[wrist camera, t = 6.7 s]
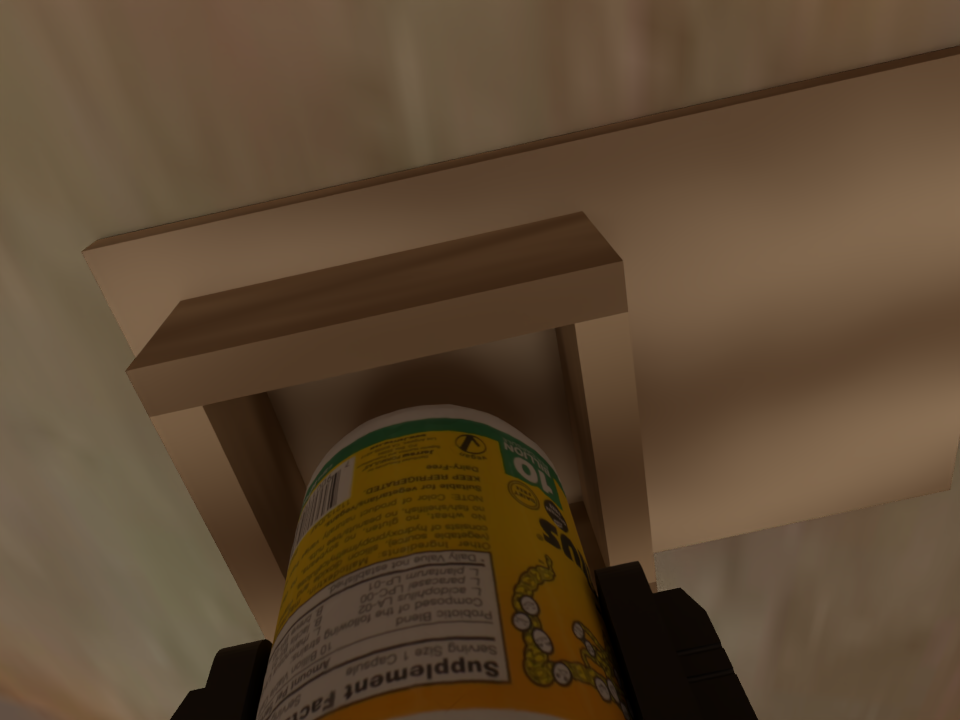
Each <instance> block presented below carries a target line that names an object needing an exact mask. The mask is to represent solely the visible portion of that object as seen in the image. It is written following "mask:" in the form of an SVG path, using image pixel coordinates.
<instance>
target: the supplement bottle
mask: <svg viewBox="0 0 960 720" xmlns="http://www.w3.org/2000/svg"><path fill="white" fill-rule="evenodd" d="M256 720H636V719H635V715H634V711H633V708H632V705H631V702H630V699H629V696H628V693H627V690H626V687H625V684H624V681H623V677H622V674H621V670H620V667H619V664H618V661H617V659H616V656H615V652H614V648H613V645H612V642H611V639H610V636H609V633H608V630H607V627H606V623H605V620H604V616H603V613H602V610H601V607H600V603H599V598H598V596H597V593H596V591H595V589H594V586H593V583H592V578H591V574H590V570H589V567H588V564H587V561H586V558H585V555H584V551H583V548H582V545H581V542H580V539H579V536H578V533H577V530H576V527H575V524H574V520H573V517H572V514H571V511H570V508H569V504H568V501H567V498H566V495H565V492H564V490H563V486H562V483H561V481H560V478H559V476H558V474H557V472H556V469H555V467H554V465H553V464H552V462H551V461H550V460H549V458H548V457H547V455H546V454H545V452H544V451H543V450H542V449H541V448H540V447H539V446H538V445H537V444H536V443H534V442H533V441H532V440H530V439H529V438H528V437H527V436H525V435H524V434H523V433H521V432H520V431H519V430H517V429H516V428H514V427H513V426H511V425H510V424H508V423H507V422H505V421H503V420H501V419H500V418H498V417H496V416H494V415H491V414H489V413H486V412H483V411H479V410H475V409H471V408H466V407H461V406H456V405H452V404H439V405H421V406H415V407H409V408H405V409H400V410H396V411H394V412H391V413H387V414H384V415H381V416H378V417H376V418H373V419H371V420H368V421H367V422H365V423H363V424H361V425H360V426H358V427H357V428H355V429H354V430H353V431H351V432H350V433H348V434H347V435H346V436H344V437H343V438H342V439H341V440H340V441H339V442H338V443H337V444H335V445H334V446H333V447H332V448H331V449H330V451H329V452H328V453H327V454H326V455H325V456H324V458H323V459H322V461H321V462H320V463H319V465H318V467H317V468H316V470H315V472H314V473H313V475H312V477H311V480H310V482H309V484H308V486H307V490H306V493H305V497H304V501H303V505H302V509H301V512H300V516H299V521H298V525H297V529H296V533H295V539H294V543H293V547H292V550H291V555H290V560H289V565H288V571H287V577H286V582H285V587H284V592H283V596H282V601H281V606H280V610H279V615H278V620H277V625H276V630H275V635H274V639H273V644H272V649H271V653H270V657H269V661H268V666H267V671H266V675H265V678H264V684H263V689H262V694H261V698H260V703H259V707H258V712H257V716H256Z"/></svg>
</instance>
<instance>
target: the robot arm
mask: <svg viewBox="0 0 960 720" xmlns="http://www.w3.org/2000/svg"><path fill="white" fill-rule="evenodd" d="M594 574H595V581H596V587H597V593H598V598H599V603H600V607H601V610H602V613H603V616H604V620H605V623H606V627H607V630H608V633H609V636H610V639H611V642H612V645H613V648H614V652H615V656H616V659H617V661H618V664H619V667H620V670H621V674H622V677H623V681H624V684H625V687H626V690H627V693H628V696H629V699H630V702H631V705H632V708H633V711H634V715H635V719H636V720H758V719H757V716H756V714H755V712H754V710H753V708H752V706H751V704H750V702H749V700H748V698H747V696H746V694H745V691H744V689H743V687H742V685H741V683H740V681H739V679H738V677H737V675H736V674H735V673H734V670H733V667H732V664H731V662H730V660H729V658H728V656H727V654H726V652H725V650H724V648H722V646H721V642H720V639H719V637H718V635H717V633H716V631H715V629H714V627H713V625H712V623H711V621H710V619H709V617H708V614H707V612H706V611H705V610H704V609H703V608H702V607H701V606H700V605H699V604H698V603H696V602H695V601H694V600H693V599H692V598H691V597H690V596H689V595H688V594H687V593H686V592H684V591H683V590H682V589H681V588H676V589H671V590H667V591H662V592H657V593H652V590H651V588H650V585H649V583H648V580H647V578H646V576H645V573H644V571H643V568H642V566H641V564H640V563H639V561H634V562H629V563H624V564H620V565H615V566H610V567H606V568H601V569H596V570H594ZM271 649H272V643H271V642H270V641H269V640H267V639H265V640H260V641H255V642H251V643H246V644H241V645H237V646H232V647H227V648H223V649H221V650H219V651H218V653H217V654H216V656H215V658H214V661H213V664H212V667H211V670H210V674H209V677H208V680H207V683H206V687H205V688H202V689H197V690H192V691H190V692H189V693H188V694H187V696H186V697H185V699H184V700H183V702H182V703H181V705H180V706H179V707H178V709H177V710H176V712H175V713H174V715H173V716H172V718H171V719H170V720H256V716H257V712H258V707H259V703H260V698H261V694H262V689H263V684H264V678H265V675H266V671H267V666H268V661H269V657H270V653H271Z"/></svg>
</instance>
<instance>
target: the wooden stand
mask: <svg viewBox="0 0 960 720" xmlns="http://www.w3.org/2000/svg"><path fill="white" fill-rule="evenodd" d="M82 254H83V256H84V258H85V260H86V262H87V264H88V266H89V268H90V270H91V272H92V273H93V275H94V277H95V279H96V281H97V283H98V285H99V287H100V289H101V291H102V293H103V295H104V297H105V299H106V301H107V303H108V305H109V307H110V309H111V311H112V313H113V315H114V316H115V318H116V320H117V322H118V324H119V326H120V328H121V330H122V332H123V334H124V336H125V338H126V340H127V342H128V344H129V346H130V348H131V350H132V352H133V354H134V356H135V359H134V361H133V362H132V363H131V364H130V366H129V367H128V368H127V370H126V371H125V372H126V374H127V375H128V377H129V379H130V381H131V383H132V385H133V387H134V389H135V391H136V393H137V394H138V396H139V398H140V400H141V402H142V404H143V406H144V408H145V410H146V412H147V413H148V415H149V417H150V419H151V421H152V423H153V425H154V427H155V429H156V431H157V432H158V434H159V436H160V438H161V440H162V442H163V444H164V446H165V448H166V450H167V452H168V453H169V455H170V457H171V459H172V461H173V463H174V465H175V467H176V469H177V471H178V472H179V474H180V476H181V478H182V480H183V482H184V484H185V486H186V488H187V490H188V491H189V493H190V495H191V497H192V499H193V501H194V503H195V505H196V507H197V509H198V510H199V512H200V514H201V516H202V518H203V520H204V522H205V524H206V526H207V528H208V529H209V531H210V533H211V535H212V537H213V539H214V541H215V543H216V545H217V547H218V548H219V550H220V552H221V554H222V556H223V558H224V560H225V562H226V564H227V566H228V567H229V569H230V571H231V573H232V575H233V577H234V579H235V581H236V583H237V585H238V587H239V588H240V590H241V592H242V594H243V596H244V598H245V600H246V602H247V604H248V606H249V607H250V609H251V611H252V613H253V615H254V617H255V619H256V621H257V623H258V625H259V626H260V628H261V630H262V632H263V634H264V636H265V638H266V639H267V640H269V641H270V642H271V643H272V644H273V639H274V635H275V630H276V625H277V620H278V615H279V610H280V606H281V601H282V596H283V592H284V587H285V582H286V577H287V571H288V565H289V560H290V555H291V550H292V547H293V543H294V539H295V533H296V529H297V525H298V521H299V516H300V512H301V509H302V505H303V501H304V497H305V493H306V490H307V486H308V484H309V482H310V480H311V477H312V475H313V473H314V472H315V470H316V468H317V467H318V465H319V463H320V462H321V461H322V459H323V458H324V456H325V455H326V454H327V453H328V452H329V451H330V449H331V448H332V447H333V446H334V445H335V444H337V443H338V442H339V441H340V440H341V439H342V438H343V437H344V436H346V435H347V434H348V433H350V432H351V431H353V430H354V429H355V428H357V427H358V426H360V425H361V424H363V423H365V422H367V421H368V420H371V419H373V418H376V417H378V416H381V415H384V414H387V413H391V412H394V411H396V410H400V409H405V408H409V407H415V406H421V405H439V404H452V405H456V406H461V407H466V408H471V409H475V410H479V411H483V412H486V413H489V414H491V415H494V416H496V417H498V418H500V419H501V420H503V421H505V422H507V423H508V424H510V425H511V426H513V427H514V428H516V429H517V430H519V431H520V432H521V433H523V434H524V435H525V436H527V437H528V438H529V439H530V440H532V441H533V442H534V443H536V444H537V445H538V446H539V447H540V448H541V449H542V450H543V451H544V452H545V454H546V455H547V457H548V458H549V460H550V461H551V462H552V464H553V465H554V467H555V469H556V472H557V474H558V476H559V478H560V481H561V483H562V486H563V490H564V492H565V495H566V498H567V501H568V504H569V508H570V511H571V514H572V517H573V520H574V524H575V527H576V530H577V533H578V536H579V539H580V542H581V545H582V548H583V551H584V555H585V558H586V561H587V564H588V567H589V570H590V574H591V578H592V583H593V586H594V589H595V591H596V593H597V587H596V581H595V574H594V570H596V569H601V568H606V567H610V566H615V565H620V564H624V563H629V562H634V561H639V563H640V564H641V566H642V568H643V571H644V573H645V576H646V578H647V580H648V583H649V585H650V588H651V590H652V593H657V584H656V574H655V565H654V555H653V553H657V552H661V551H666V550H671V549H675V548H680V547H685V546H689V545H694V544H699V543H703V542H708V541H713V540H717V539H722V538H727V537H731V536H736V535H741V534H745V533H750V532H755V531H760V530H764V529H769V528H774V527H778V526H783V525H788V524H792V523H797V522H802V521H806V520H811V519H816V518H820V517H825V516H830V515H834V514H839V513H844V512H848V511H853V510H858V509H862V508H867V507H872V506H876V505H881V504H886V503H890V502H895V501H900V500H904V499H909V498H914V497H918V496H923V495H928V494H932V493H937V492H942V491H946V490H950V488H951V482H952V477H953V471H954V465H955V460H956V454H957V448H958V443H959V437H960V46H956V47H952V48H947V49H943V50H939V51H934V52H930V53H925V54H921V55H916V56H912V57H908V58H903V59H899V60H894V61H890V62H885V63H881V64H876V65H872V66H868V67H863V68H859V69H854V70H850V71H845V72H841V73H836V74H832V75H828V76H823V77H819V78H814V79H810V80H805V81H801V82H796V83H792V84H788V85H783V86H779V87H774V88H770V89H765V90H761V91H756V92H752V93H748V94H743V95H739V96H734V97H730V98H725V99H721V100H717V101H712V102H708V103H703V104H699V105H694V106H690V107H685V108H681V109H677V110H672V111H668V112H663V113H659V114H654V115H650V116H645V117H641V118H637V119H632V120H628V121H623V122H619V123H614V124H610V125H605V126H601V127H597V128H592V129H588V130H583V131H579V132H574V133H570V134H565V135H561V136H557V137H552V138H548V139H543V140H539V141H534V142H530V143H526V144H521V145H517V146H512V147H508V148H503V149H499V150H494V151H490V152H486V153H481V154H477V155H472V156H468V157H463V158H459V159H454V160H450V161H446V162H441V163H437V164H432V165H428V166H423V167H419V168H414V169H410V170H406V171H401V172H397V173H392V174H388V175H383V176H379V177H374V178H370V179H366V180H361V181H357V182H352V183H348V184H343V185H339V186H334V187H330V188H326V189H321V190H317V191H312V192H308V193H303V194H299V195H295V196H290V197H286V198H281V199H277V200H272V201H268V202H263V203H259V204H255V205H250V206H246V207H241V208H237V209H232V210H228V211H223V212H219V213H215V214H210V215H206V216H201V217H197V218H192V219H188V220H183V221H179V222H175V223H170V224H166V225H161V226H157V227H152V228H148V229H143V230H139V231H135V232H130V233H126V234H121V235H117V236H112V237H108V238H104V239H99V240H96V241H95V242H94V243H92V244H91V245H90V246H88V247H87V248H86V249H84V250H83V251H82ZM597 596H598V593H597Z"/></svg>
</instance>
